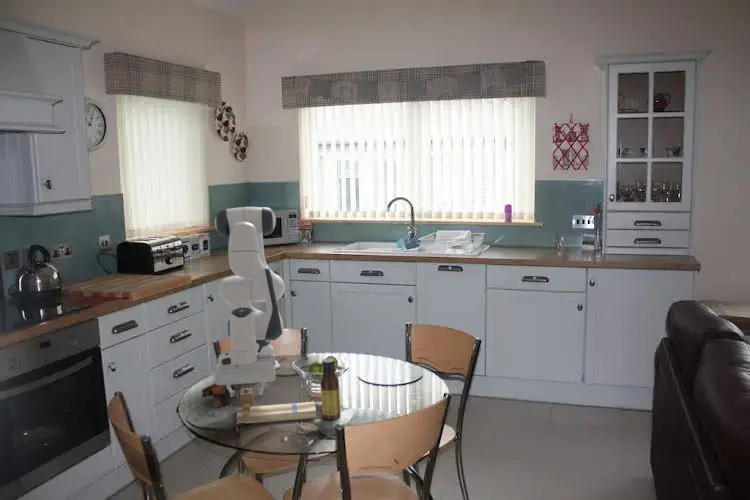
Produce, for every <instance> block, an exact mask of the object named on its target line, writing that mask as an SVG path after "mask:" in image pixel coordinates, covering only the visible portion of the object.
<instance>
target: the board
mask: <svg viewBox="0 0 750 500" xmlns="http://www.w3.org/2000/svg"><path fill="white" fill-rule="evenodd" d="M242 413H243V407H241V406H240V407H237V413H236V425H240V424H239V423H246V424H257V423H268V422H270V423H271V422H279V421H280V422H282V421H291V420H306V419H317V408H316V403H315V401H306V402H292V403H279V404H278V403H277V404H269V405H267V404H266V405H254V406H253V407H250V409H249V417H243V416H242Z"/></svg>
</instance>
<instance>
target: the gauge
mask: <svg viewBox="0 0 750 500" xmlns="http://www.w3.org/2000/svg"><path fill="white" fill-rule="evenodd" d="M253 389H254V388H253V387H251V388H248V387H247V388H241V389H240V393H239V396H240V407H243V413H242V416H243V417H249V409H250V407H253V406H255V405H254V390H253Z"/></svg>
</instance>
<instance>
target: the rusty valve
mask: <svg viewBox="0 0 750 500" xmlns="http://www.w3.org/2000/svg"><path fill="white" fill-rule="evenodd" d="M230 388H231V389H232V390H235V393H236V391H237V388H236V386H235V384H232V385H231V387H230ZM201 393H202V394H201V398H202V399H204V398H206V397H212V398H214V399H217V400H214V401H213V405H214V407H215V408H216V406H219V407H221V406H225V405H228V404H230V400H231V398H232V397H230V392H229V391H228V389H227V388H226V385H217V384H216V383H213V384H211V385H208V386H206V387H205V388H202V389H201ZM227 403H228V404H227Z"/></svg>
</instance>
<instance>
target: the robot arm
mask: <svg viewBox="0 0 750 500" xmlns="http://www.w3.org/2000/svg"><path fill="white" fill-rule="evenodd" d="M276 222H277V219H276V215H275V213H274V211H273V209H271V208H270V207H266V206H262V207H261V206H243V207H242V206H241V207H240V206H239V207H234V208H233V207H231V208H228V207H227V208H221V209H218V211H217V212H216V216H215V217H214V228H215V230H216V231H217V234H218V235H220V236H221V237H224V238H225V239H228V245H227V246H228V249H227V250H228V251H227V253H228V256H227V257H228V264H229V265H228V266H229V268H230V270H231V271H232V273H234V274H235V275H232V276H229V277H225V278H223V279H222V280H221V282H220V283H219V287H218V293H219V297H220V298H221V300H223V302H225V304H227V305H229V306H230V307H231V308H232V311H231V312H230V317H229V320H228V321H227V329H228V336H229V338H230V340H231V345H230V350H229V351H226V352H224V353H221V354H219V355H218V357H217V366H216V370H215V376H214V377H215V379H214V380H215V381H214V382H215V383H214V384H217V385H224V386H226V388H227V389H228V392H229V393H230V397H231V398H233V397H235V396H236V392H235V390H232V388H230V387H231V385H232V384H233V385H243V384H257V383H260V384H261V387H260V388H258V389H257V391H258V392H257V394H258V396H261V395H262V396H263V393H264V392H263V391H264V388H265V387H266V383H270V382H274V381H275V380H276V370H277V369H279V368H281V365H280V364H279V362H278V361H277V359H276V356H275V349H274V347H273V346H272V345H271V341H276V340H278V339H279V338H280V337H281V336H282V334H284V333H283V332H284V322H283V319H282V318H283V317H282V315H281V313H280V310H279V305H278V300H280V299H282V297H283V295H284V294H285V290H286V288H285V287H286V286H285V285H286V284H285V282H284V280H283V278H282V277H281V276H280V275H278V274H277V273H275V272H274V271H273V270H272V269H271V268H270V267H269V265H268V263H267V261H266V257H265V248H264V237H263V236H268V235H271V234H272V233H273V232H274V229H275V227H276V225H277V223H276ZM264 302H265V305H266V311H262V310H259V309H257V308H255V307H254V306H253V304H252V303H264Z"/></svg>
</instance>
